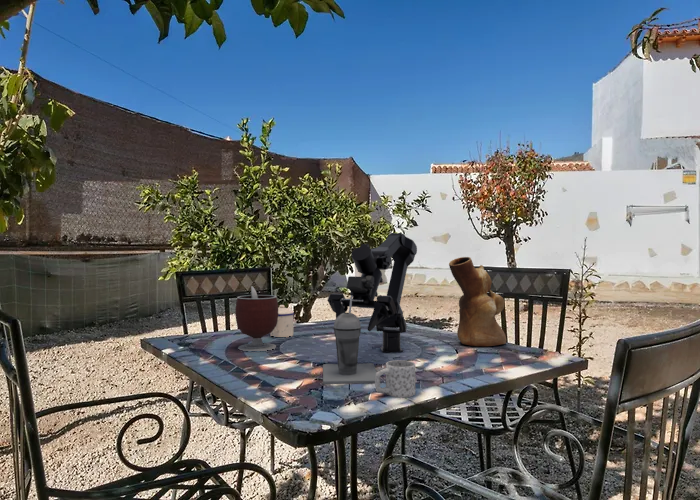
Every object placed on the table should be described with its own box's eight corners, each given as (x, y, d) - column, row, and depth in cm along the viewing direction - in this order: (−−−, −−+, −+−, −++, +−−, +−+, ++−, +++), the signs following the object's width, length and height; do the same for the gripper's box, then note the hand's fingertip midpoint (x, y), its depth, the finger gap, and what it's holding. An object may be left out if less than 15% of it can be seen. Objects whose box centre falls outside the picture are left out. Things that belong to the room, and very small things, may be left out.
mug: (404, 387, 115) (404, 359, 115) (421, 394, 109) (421, 365, 109) (367, 393, 110) (367, 364, 110) (383, 401, 104) (383, 370, 104)
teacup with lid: (275, 333, 189) (275, 303, 189) (297, 334, 187) (297, 304, 187) (262, 338, 178) (262, 307, 178) (285, 340, 175) (285, 307, 175)
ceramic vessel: (516, 345, 165) (515, 256, 165) (467, 352, 154) (467, 257, 154) (482, 338, 178) (482, 256, 178) (435, 343, 168) (435, 256, 168)
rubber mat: (323, 366, 135) (323, 364, 135) (373, 365, 136) (373, 363, 136) (323, 384, 117) (323, 381, 117) (380, 383, 118) (380, 380, 118)
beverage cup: (334, 369, 130) (334, 294, 129) (362, 369, 129) (361, 294, 129) (332, 376, 122) (331, 296, 122) (361, 376, 122) (360, 296, 122)
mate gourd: (283, 350, 157) (282, 288, 157) (239, 354, 151) (239, 290, 151) (271, 342, 171) (271, 285, 171) (231, 345, 166) (231, 286, 166)
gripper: (330, 265, 138) (311, 308, 128) (392, 265, 130) (377, 312, 120) (342, 290, 145) (325, 333, 135) (401, 292, 137) (388, 338, 127)
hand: (352, 329), depth 129 cm, fingers open, 9 cm apart
